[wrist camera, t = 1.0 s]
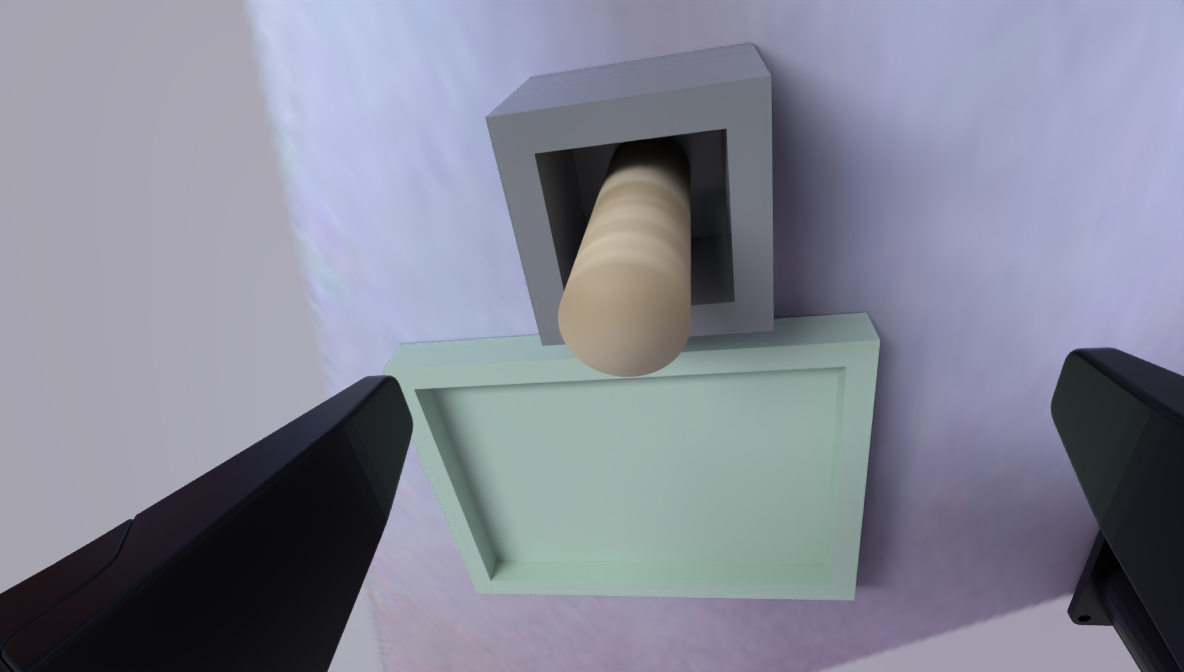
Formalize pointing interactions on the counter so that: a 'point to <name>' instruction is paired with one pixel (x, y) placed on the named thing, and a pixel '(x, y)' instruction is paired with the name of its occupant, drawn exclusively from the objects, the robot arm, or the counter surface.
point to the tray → (652, 462)
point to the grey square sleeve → (634, 112)
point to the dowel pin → (634, 265)
